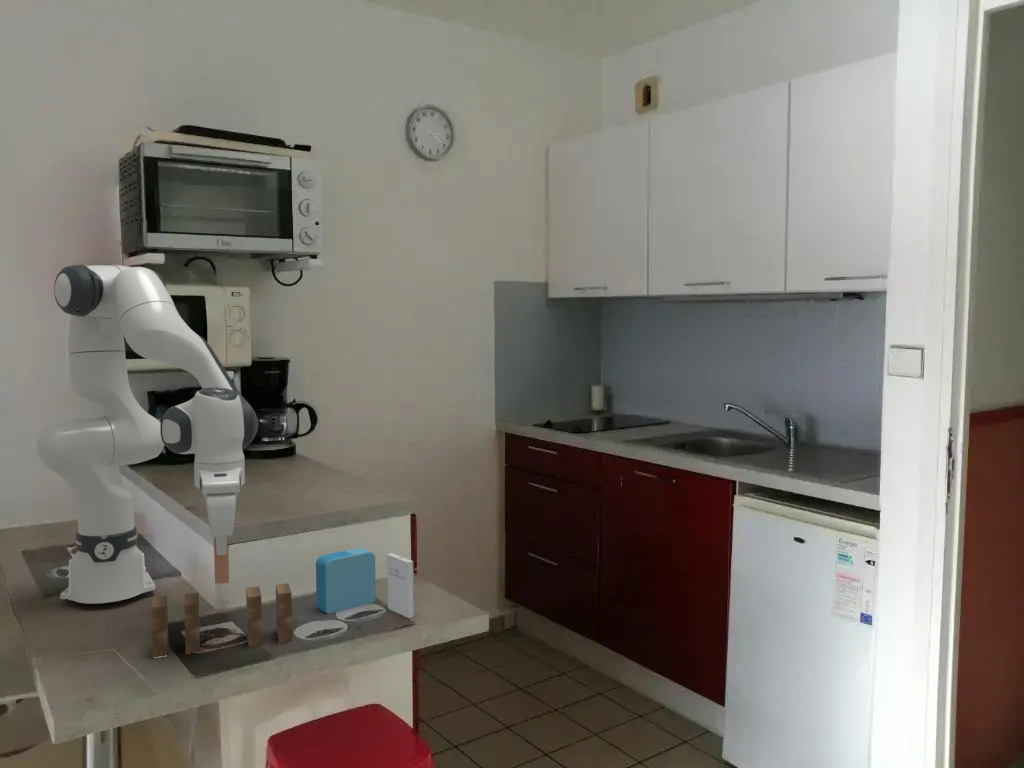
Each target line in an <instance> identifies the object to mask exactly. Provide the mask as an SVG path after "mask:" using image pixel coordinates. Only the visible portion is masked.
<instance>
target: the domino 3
mask: <svg viewBox="0 0 1024 768" xmlns="http://www.w3.org/2000/svg"><path fill="white" fill-rule="evenodd" d="M213 540H214V541H213V546H214V547H213V550H214V551H213V552H214V557H213V558H214V583H215V585H219V584H229V583H230V565H229V564H230V563H229V562H230V561H229V560H230V559H229V558H230V557H229V553H230V552H229V537H228V538H227V553H226V554H225V555H217V554H216V539H215V537H213Z"/></svg>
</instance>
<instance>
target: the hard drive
mask: <svg viewBox="0 0 1024 768" xmlns="http://www.w3.org/2000/svg"><path fill="white" fill-rule="evenodd" d="M386 557H387V558H386V562H387V564H386V565H387V567H386V568H387V572H386V573H387V610H389V611H392V612H394V613H396V614H398V615H401V616H403V617H406V618H408V619H412V618H414V617H415V591H414V590H415V589H414V588H415V586H414V585H415V584H414V583H415V580H414V561H413V560H412V559H409V558H407V557H404V556H401V555H398V554H396V553H392V552H389V553H387V554H386Z"/></svg>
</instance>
